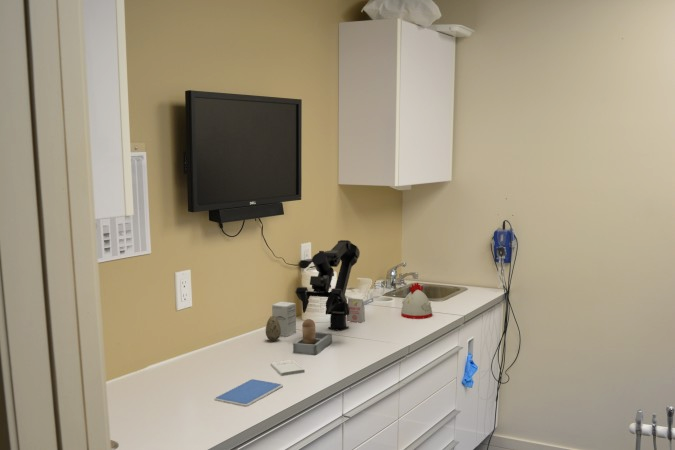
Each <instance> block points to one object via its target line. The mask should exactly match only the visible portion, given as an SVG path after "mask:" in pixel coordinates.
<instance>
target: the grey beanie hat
mask: <svg viewBox="0 0 675 450" xmlns="http://www.w3.org/2000/svg"><path fill="white" fill-rule="evenodd" d="M423 288H424V287H423V286H422V284H419V282H414V284H413V283H411V286H410V287H409V291H410V292H409V293H408V294H407V295H406V296H405V298H404V299H402V305H401V311H400V313H401V314H400V315H401V317H402V318H406V319H411V320H423V319H424V320H425V319H429V318H432V317H433V309H432V306H431V301H430V300H429V298H428V296H427V295H426V293H424V292H423Z"/></svg>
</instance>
